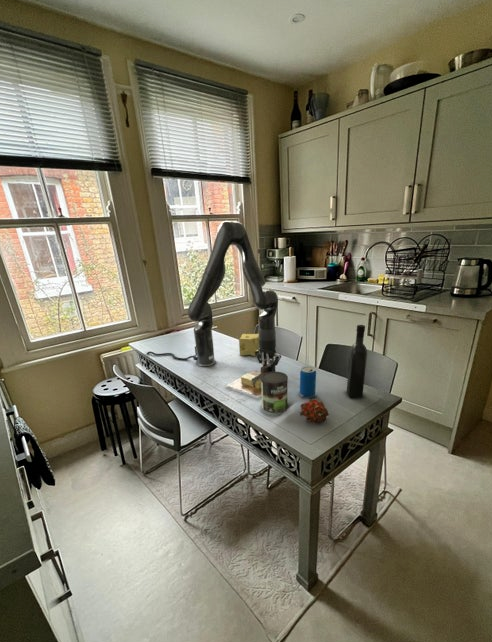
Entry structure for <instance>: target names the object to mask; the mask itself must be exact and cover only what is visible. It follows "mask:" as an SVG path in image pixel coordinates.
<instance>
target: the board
mask: <svg viewBox="0 0 492 642" xmlns="http://www.w3.org/2000/svg"><path fill="white" fill-rule="evenodd" d="M260 373H261V371H259V370H255V369H253V370H251V371H250V372H248V374H251V375H254V376H257V375H259V374H260ZM226 386H227V387H230V388H231V389H235V390H238V391H241V392H243V393H246V394H249V395H252V396H255V397H260V396H262V394H261V388H259V389H258V388H255V386H254V387H252V386H249V385H246V384H243V383H241V377H239V378H237V379H235V380H233V381H232V382H230V383H229V384H226Z"/></svg>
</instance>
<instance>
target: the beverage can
mask: <svg viewBox="0 0 492 642" xmlns="http://www.w3.org/2000/svg"><path fill="white" fill-rule="evenodd" d="M316 386H317V371H316V368H315V367H313V366H302V367H301V369H300V371H299V393H300V394H301V395H302V398H305V399H311V398H313V397H315V395H316Z"/></svg>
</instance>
